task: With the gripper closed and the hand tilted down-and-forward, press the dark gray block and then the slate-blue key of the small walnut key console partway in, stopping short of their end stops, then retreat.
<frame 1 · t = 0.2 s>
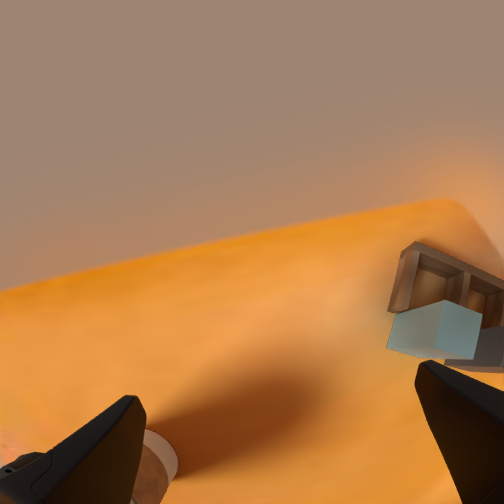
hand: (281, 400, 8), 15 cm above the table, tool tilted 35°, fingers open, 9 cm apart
coffee cup: (148, 456, 20), on the table
dark gray block: (486, 351, 17), point 4 cm above the table, slide at 0.0 cm
slate blue key: (430, 334, 18), point 4 cm above the table, slide at 0.0 cm
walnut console: (436, 345, 21), on the table
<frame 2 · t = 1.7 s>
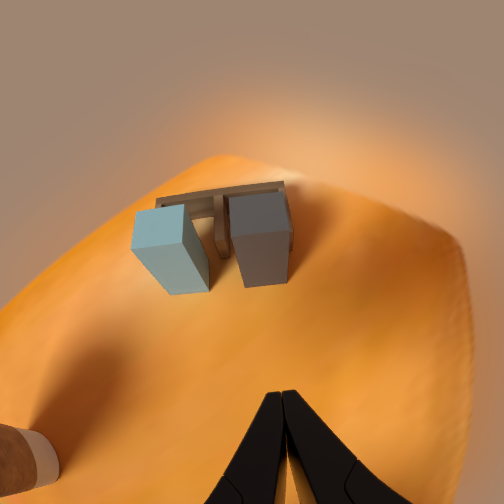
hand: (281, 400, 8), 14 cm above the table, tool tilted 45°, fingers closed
coffee cup: (40, 457, 17), on the table
dark gray block: (261, 245, 22), point 4 cm above the table, slide at 0.0 cm
slate blue key: (175, 255, 22), point 4 cm above the table, slide at 0.0 cm
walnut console: (226, 273, 25), on the table
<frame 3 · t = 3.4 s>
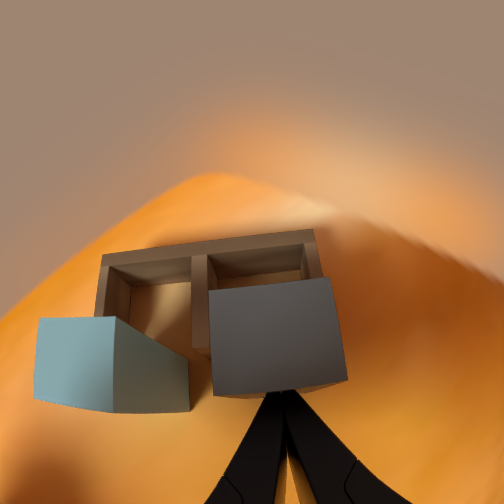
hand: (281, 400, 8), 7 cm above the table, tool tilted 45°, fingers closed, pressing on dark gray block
dark gray block: (276, 357, 11), point 4 cm above the table, slide at 0.6 cm, touching gripper
slate blue key: (125, 377, 11), point 4 cm above the table, slide at 0.0 cm
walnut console: (216, 384, 14), on the table
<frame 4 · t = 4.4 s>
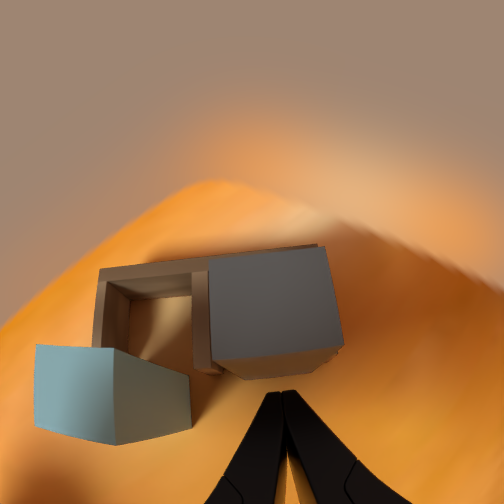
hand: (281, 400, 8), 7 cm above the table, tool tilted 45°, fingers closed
dark gray block: (274, 333, 11), point 4 cm above the table, slide at 2.6 cm
slate blue key: (126, 399, 10), point 4 cm above the table, slide at 0.0 cm
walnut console: (217, 401, 14), on the table
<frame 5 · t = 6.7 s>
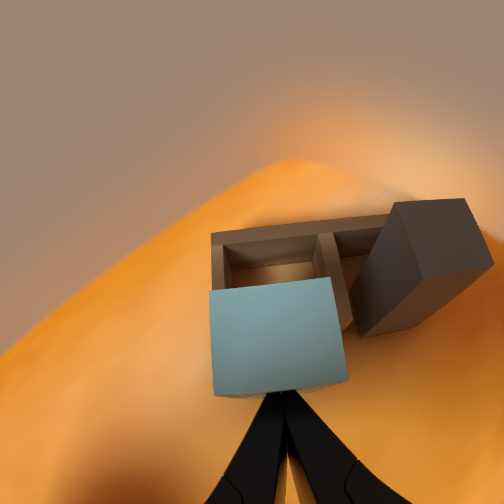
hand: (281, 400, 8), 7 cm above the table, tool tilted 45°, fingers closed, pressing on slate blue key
dark gray block: (409, 280, 12), point 4 cm above the table, slide at 2.6 cm
slate blue key: (276, 357, 11), point 4 cm above the table, slide at 0.1 cm, touching gripper
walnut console: (337, 362, 14), on the table
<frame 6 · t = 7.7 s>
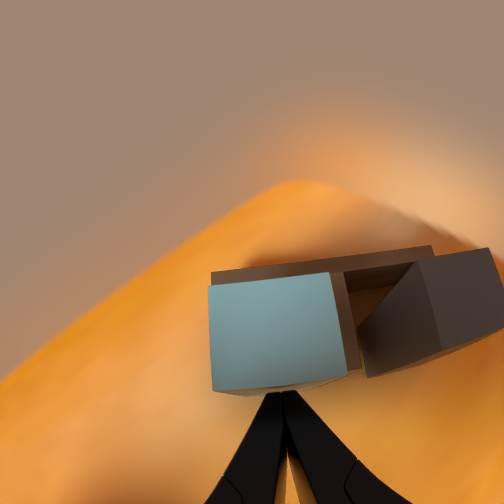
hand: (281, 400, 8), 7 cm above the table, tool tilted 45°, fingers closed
dark gray block: (422, 327, 11), point 4 cm above the table, slide at 2.6 cm
slate blue key: (275, 354, 11), point 4 cm above the table, slide at 2.6 cm
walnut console: (343, 403, 13), on the table
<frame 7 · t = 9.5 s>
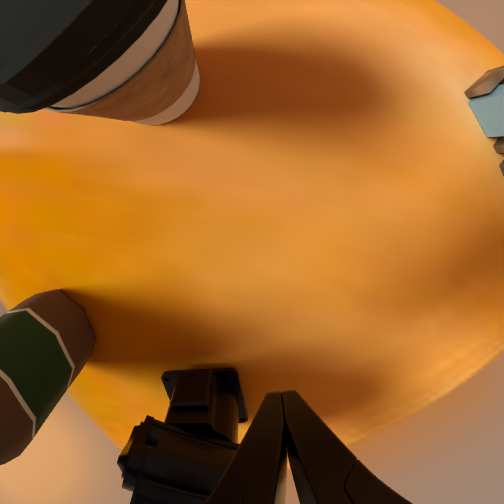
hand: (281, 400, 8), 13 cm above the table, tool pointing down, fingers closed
coffee cup: (159, 86, 17), on the table
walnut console: (488, 157, 18), on the table
beer bottle: (63, 325, 22), on the table
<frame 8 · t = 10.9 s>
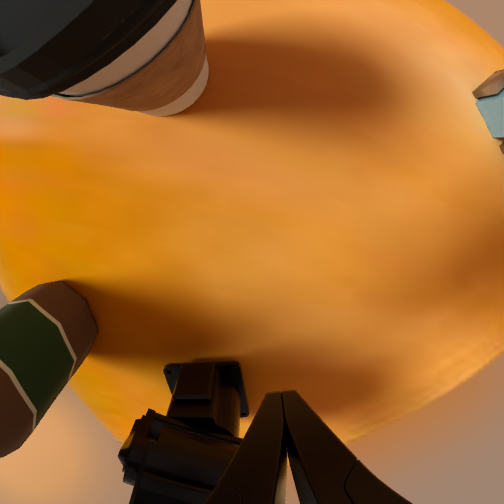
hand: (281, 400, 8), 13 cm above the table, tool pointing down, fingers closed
coffee cup: (167, 78, 17), on the table
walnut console: (494, 157, 18), on the table
beer bottle: (65, 316, 22), on the table
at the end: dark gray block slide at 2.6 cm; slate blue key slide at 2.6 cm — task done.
